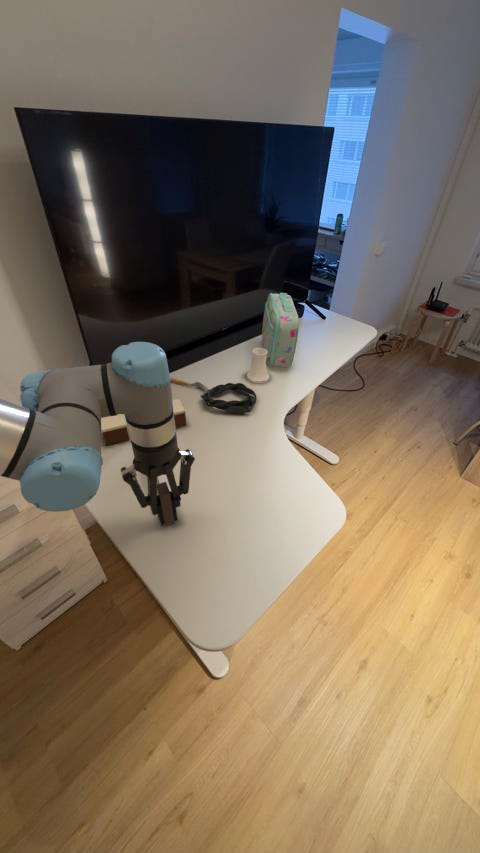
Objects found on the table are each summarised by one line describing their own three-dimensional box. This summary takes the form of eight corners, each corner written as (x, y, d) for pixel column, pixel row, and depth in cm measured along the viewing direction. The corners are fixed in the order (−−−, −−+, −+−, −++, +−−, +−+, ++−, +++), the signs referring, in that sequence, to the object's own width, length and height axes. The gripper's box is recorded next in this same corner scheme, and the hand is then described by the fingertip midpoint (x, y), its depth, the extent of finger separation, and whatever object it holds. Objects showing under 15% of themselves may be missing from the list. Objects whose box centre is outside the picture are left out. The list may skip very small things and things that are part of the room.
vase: (266, 371, 121) (269, 345, 115) (270, 383, 116) (273, 356, 109) (245, 372, 120) (247, 346, 114) (248, 383, 115) (250, 357, 108)
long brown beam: (165, 526, 71) (159, 495, 64) (146, 469, 82) (139, 439, 76) (174, 522, 72) (170, 492, 65) (154, 467, 83) (148, 436, 77)
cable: (197, 412, 102) (196, 400, 99) (204, 386, 112) (204, 375, 110) (254, 417, 101) (255, 405, 98) (256, 390, 112) (257, 379, 109)
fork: (155, 374, 114) (208, 389, 108) (158, 371, 115) (210, 385, 109) (157, 380, 116) (209, 394, 110) (160, 376, 117) (212, 390, 111)
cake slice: (169, 430, 95) (167, 414, 92) (163, 417, 99) (161, 402, 96) (186, 425, 97) (185, 410, 93) (180, 413, 101) (178, 398, 97)
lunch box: (258, 338, 141) (262, 285, 127) (283, 338, 142) (290, 285, 128) (266, 372, 121) (272, 313, 107) (295, 372, 121) (304, 313, 108)
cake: (106, 446, 89) (101, 430, 86) (103, 432, 94) (98, 416, 90) (129, 440, 91) (126, 424, 88) (125, 426, 96) (121, 411, 92)
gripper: (189, 411, 62) (195, 493, 77) (102, 432, 57) (128, 516, 72) (203, 436, 57) (207, 519, 72) (110, 461, 52) (135, 545, 67)
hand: (167, 517), depth 72 cm, fingers closed on long brown beam, 2 cm apart
